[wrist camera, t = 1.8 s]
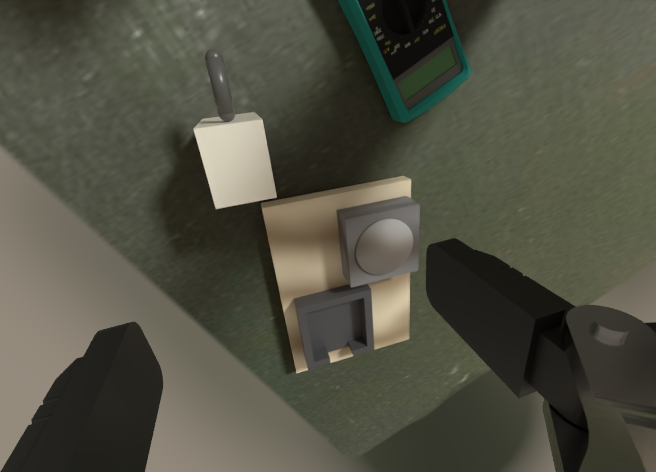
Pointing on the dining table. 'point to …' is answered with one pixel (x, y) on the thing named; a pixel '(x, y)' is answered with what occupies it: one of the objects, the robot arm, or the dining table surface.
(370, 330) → the frame
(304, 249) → the board
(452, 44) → the digital multimeter
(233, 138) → the plug
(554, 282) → the dining table surface
